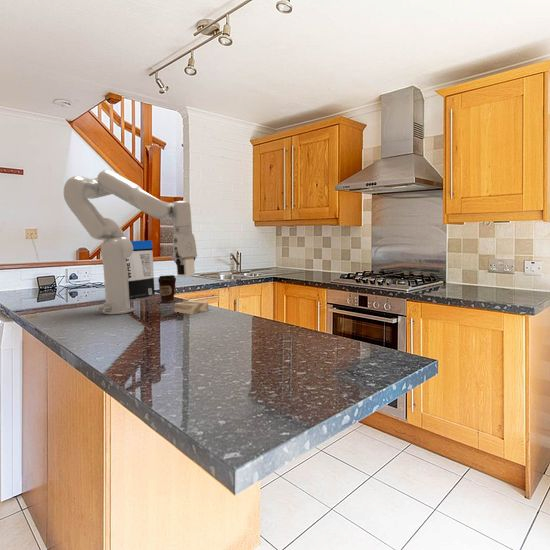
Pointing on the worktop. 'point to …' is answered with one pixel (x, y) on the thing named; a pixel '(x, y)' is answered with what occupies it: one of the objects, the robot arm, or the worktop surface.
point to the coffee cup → (167, 288)
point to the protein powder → (141, 270)
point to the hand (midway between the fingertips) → (186, 273)
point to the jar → (188, 267)
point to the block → (191, 307)
